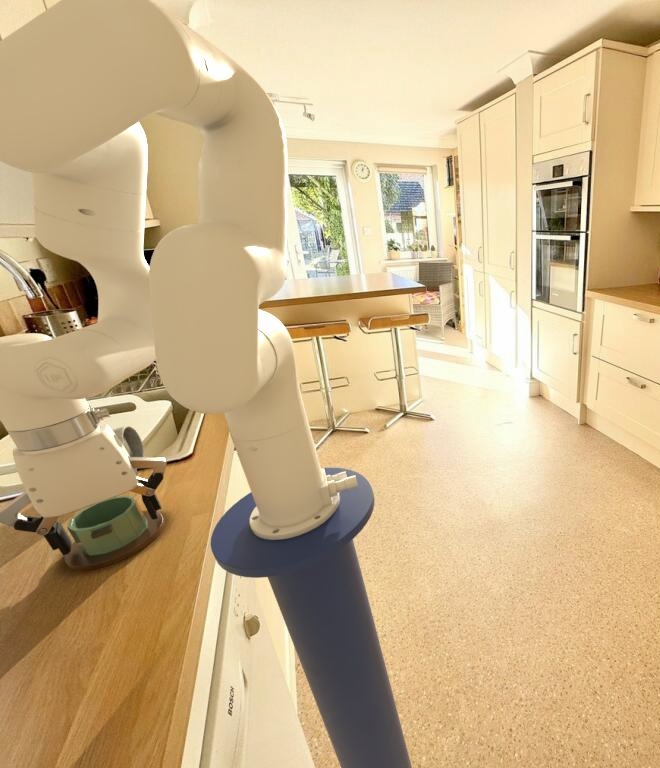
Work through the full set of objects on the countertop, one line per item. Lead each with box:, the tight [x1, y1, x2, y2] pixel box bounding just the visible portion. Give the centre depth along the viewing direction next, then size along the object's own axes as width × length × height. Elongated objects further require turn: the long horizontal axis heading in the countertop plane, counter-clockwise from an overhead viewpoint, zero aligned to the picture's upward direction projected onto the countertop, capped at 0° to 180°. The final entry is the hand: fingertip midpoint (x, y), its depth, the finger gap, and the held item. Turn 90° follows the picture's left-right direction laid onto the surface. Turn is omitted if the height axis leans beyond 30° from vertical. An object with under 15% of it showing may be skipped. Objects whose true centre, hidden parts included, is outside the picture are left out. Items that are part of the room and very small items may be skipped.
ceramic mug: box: [111, 425, 145, 457], centre depth 76 cm, size 11×8×8 cm
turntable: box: [63, 510, 166, 571], centre depth 61 cm, size 11×11×1 cm
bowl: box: [66, 495, 147, 556], centre depth 59 cm, size 8×7×4 cm
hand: (113, 531), depth 60 cm, fingers open, 9 cm apart
